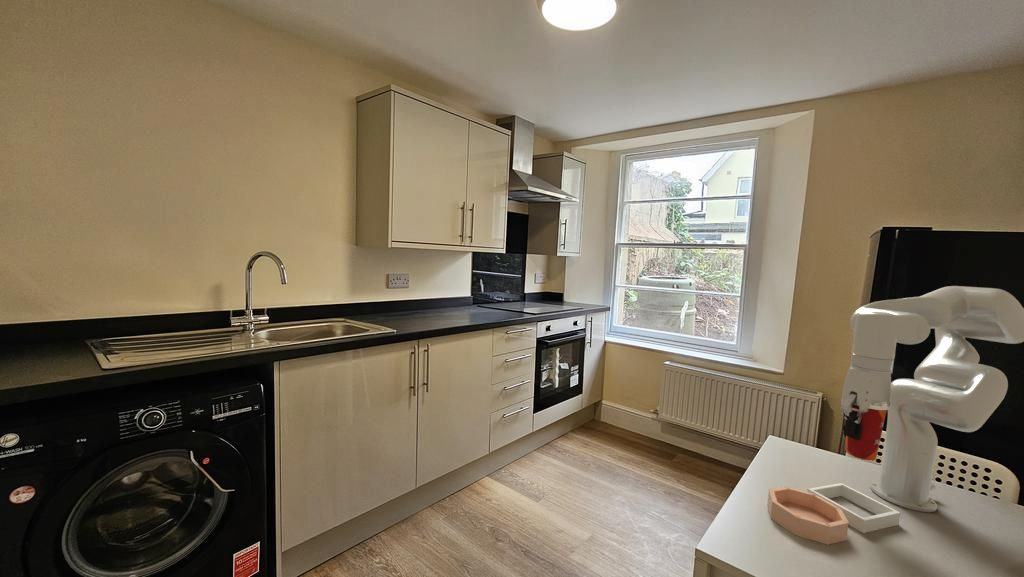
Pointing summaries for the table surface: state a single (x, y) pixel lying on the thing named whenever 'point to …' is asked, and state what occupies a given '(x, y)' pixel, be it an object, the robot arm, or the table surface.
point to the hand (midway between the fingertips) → (862, 435)
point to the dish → (807, 515)
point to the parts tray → (883, 513)
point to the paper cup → (868, 432)
